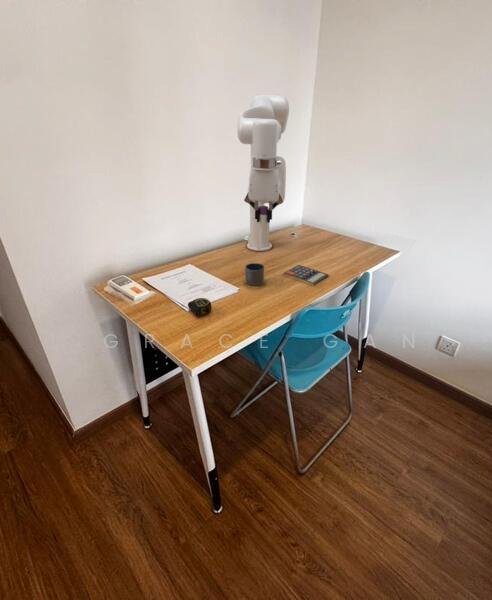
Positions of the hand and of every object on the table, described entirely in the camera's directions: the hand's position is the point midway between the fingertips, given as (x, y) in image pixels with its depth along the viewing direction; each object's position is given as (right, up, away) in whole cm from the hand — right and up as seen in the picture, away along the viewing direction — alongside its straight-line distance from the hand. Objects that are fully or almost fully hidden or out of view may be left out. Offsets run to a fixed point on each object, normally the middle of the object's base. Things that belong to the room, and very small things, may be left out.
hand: (263, 220), depth 111 cm
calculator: (+17, -17, +25) cm, 34 cm away
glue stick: (0, -7, +4) cm, 8 cm away
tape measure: (-21, -32, -3) cm, 38 cm away
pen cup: (-4, -21, +16) cm, 27 cm away
